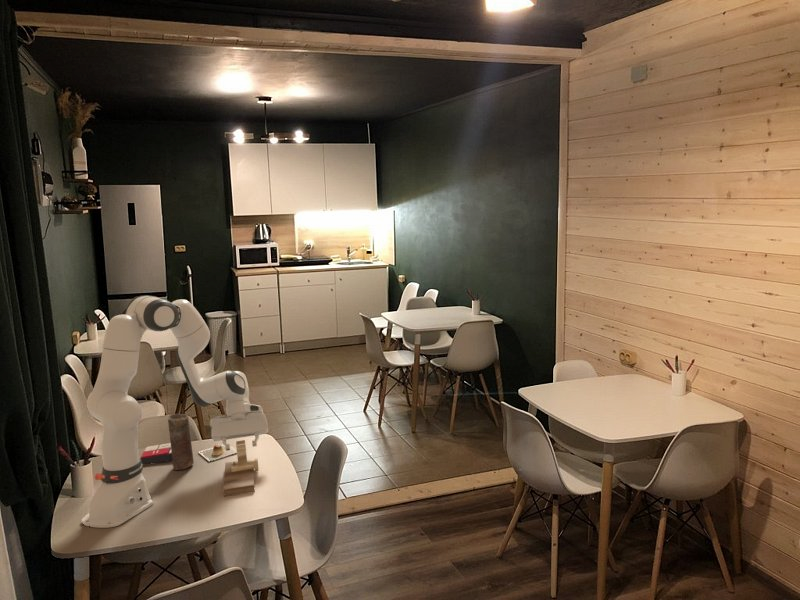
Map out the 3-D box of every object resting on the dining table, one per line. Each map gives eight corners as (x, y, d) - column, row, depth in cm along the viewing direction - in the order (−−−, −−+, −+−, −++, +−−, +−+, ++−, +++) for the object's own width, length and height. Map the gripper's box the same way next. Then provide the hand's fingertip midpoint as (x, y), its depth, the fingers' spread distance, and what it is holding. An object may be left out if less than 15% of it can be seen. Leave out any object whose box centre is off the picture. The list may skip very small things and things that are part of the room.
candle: (184, 461, 241) (177, 411, 238) (198, 463, 238) (192, 413, 234) (169, 469, 235) (162, 418, 231) (183, 472, 231) (177, 421, 228)
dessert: (197, 454, 248) (196, 443, 247) (227, 445, 255) (225, 434, 254) (209, 464, 239) (207, 452, 238) (239, 454, 246) (237, 443, 245)
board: (254, 491, 213) (253, 484, 213) (224, 496, 211) (223, 489, 211) (253, 464, 234) (253, 458, 234) (226, 469, 232) (225, 462, 232)
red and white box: (145, 445, 250) (184, 439, 252) (147, 456, 251) (186, 449, 253) (139, 457, 239) (179, 450, 241) (141, 467, 240) (181, 460, 242)
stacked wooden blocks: (258, 471, 226) (255, 443, 224) (232, 475, 224) (228, 447, 222) (258, 464, 232) (255, 437, 230) (232, 468, 230) (229, 441, 228)
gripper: (208, 413, 230) (210, 448, 222) (265, 405, 235) (269, 440, 227) (210, 420, 235) (212, 455, 228) (266, 412, 240) (270, 447, 232)
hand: (241, 447), depth 227 cm, fingers open, 8 cm apart
